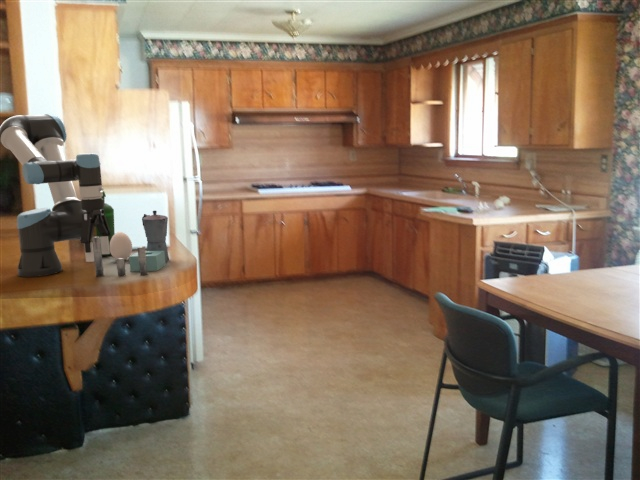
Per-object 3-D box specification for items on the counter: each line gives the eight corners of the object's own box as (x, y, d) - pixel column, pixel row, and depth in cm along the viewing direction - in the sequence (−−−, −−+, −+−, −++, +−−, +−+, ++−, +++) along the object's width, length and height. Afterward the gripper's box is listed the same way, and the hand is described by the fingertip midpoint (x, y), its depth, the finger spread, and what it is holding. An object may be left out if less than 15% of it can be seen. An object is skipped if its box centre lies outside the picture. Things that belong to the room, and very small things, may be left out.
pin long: (94, 276, 229) (90, 237, 226) (97, 275, 231) (93, 236, 229) (102, 276, 229) (98, 237, 226) (104, 274, 231) (101, 236, 229)
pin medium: (139, 275, 228) (136, 247, 226) (141, 273, 230) (138, 246, 228) (146, 275, 227) (143, 247, 226) (148, 273, 230) (146, 246, 228)
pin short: (116, 276, 228) (115, 259, 227) (119, 274, 231) (118, 258, 230) (124, 276, 228) (122, 259, 227) (126, 274, 231) (125, 257, 230)
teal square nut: (130, 271, 235) (129, 256, 234) (139, 265, 245) (138, 251, 244) (157, 270, 235) (156, 255, 234) (165, 264, 244) (164, 250, 243)
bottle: (98, 252, 275) (92, 187, 270) (122, 252, 274) (116, 186, 269) (86, 258, 265) (79, 189, 260) (110, 257, 263) (104, 189, 259)
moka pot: (159, 265, 244) (155, 212, 241) (134, 261, 254) (129, 210, 250) (179, 260, 252) (175, 209, 248) (153, 257, 261) (149, 207, 258)
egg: (106, 261, 256) (103, 232, 254) (124, 257, 263) (122, 229, 261) (119, 263, 251) (116, 234, 249) (138, 259, 257) (135, 231, 255)
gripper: (87, 201, 213) (94, 264, 216) (115, 194, 237) (121, 250, 241) (65, 202, 213) (72, 265, 217) (96, 195, 238) (102, 251, 241)
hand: (98, 257), depth 229 cm, fingers open, 13 cm apart
